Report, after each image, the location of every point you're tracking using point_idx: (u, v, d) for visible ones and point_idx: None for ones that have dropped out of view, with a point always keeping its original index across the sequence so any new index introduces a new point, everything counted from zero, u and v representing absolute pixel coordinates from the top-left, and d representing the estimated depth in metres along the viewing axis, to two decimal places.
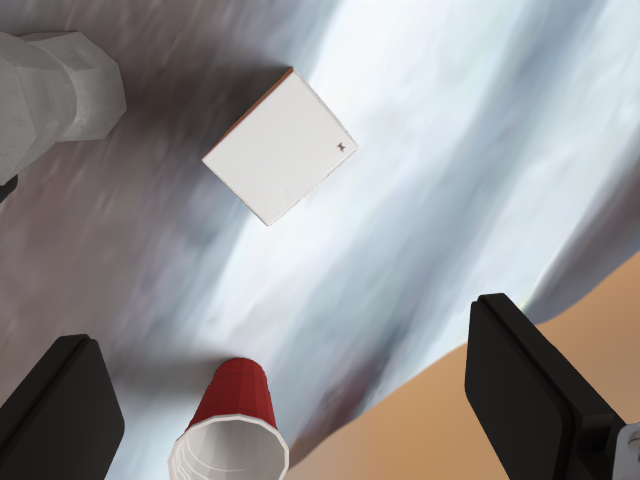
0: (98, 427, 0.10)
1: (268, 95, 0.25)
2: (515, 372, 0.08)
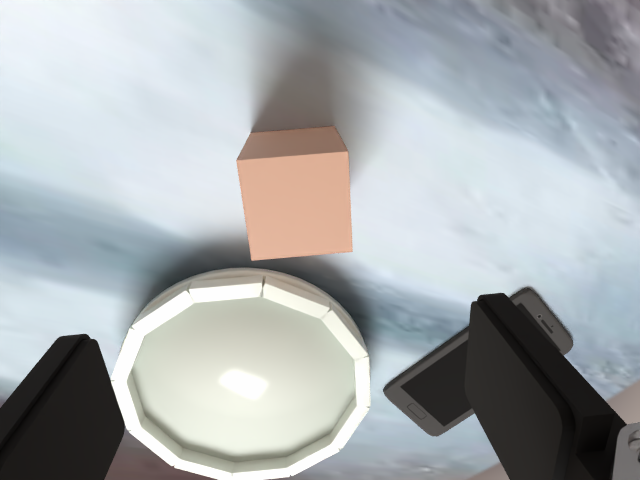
0: (98, 427, 0.10)
1: None
2: (515, 372, 0.08)
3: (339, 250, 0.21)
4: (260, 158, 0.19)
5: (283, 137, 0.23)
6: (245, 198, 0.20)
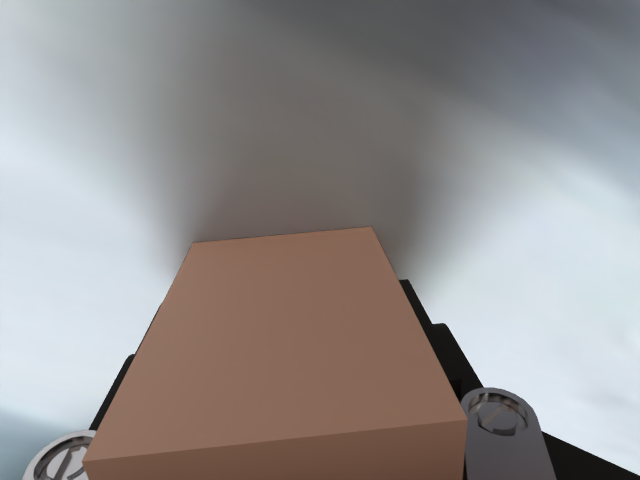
0: None
1: None
2: None
3: None
4: (167, 449, 0.06)
5: (260, 277, 0.10)
6: None
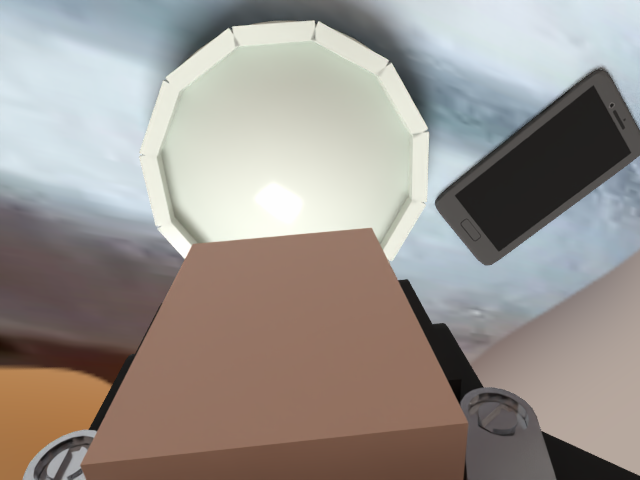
0: None
1: None
2: None
3: None
4: (166, 452, 0.06)
5: (260, 278, 0.10)
6: None
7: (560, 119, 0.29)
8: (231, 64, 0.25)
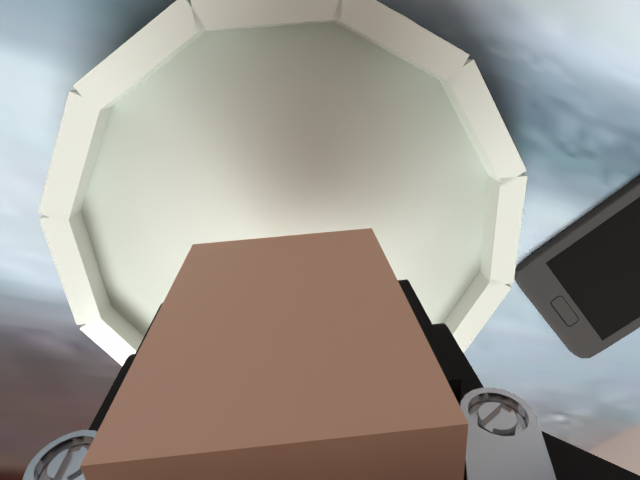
0: None
1: None
2: None
3: None
4: (166, 453, 0.06)
5: (260, 279, 0.10)
6: None
7: None
8: (193, 62, 0.14)
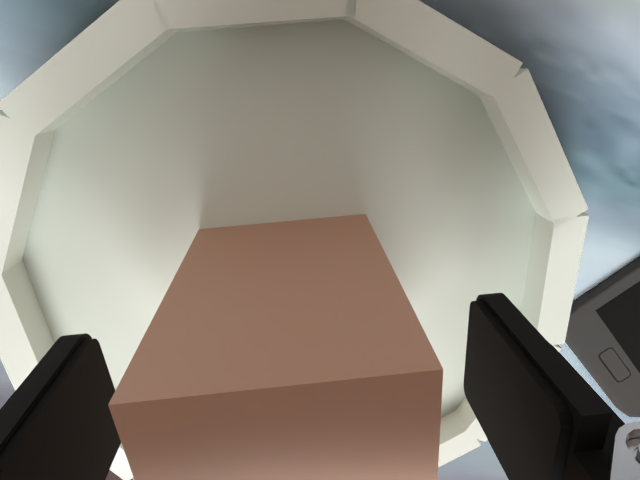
0: (99, 426, 0.10)
1: None
2: (513, 371, 0.08)
3: None
4: (182, 394, 0.06)
5: (261, 257, 0.11)
6: None
7: None
8: (160, 72, 0.11)
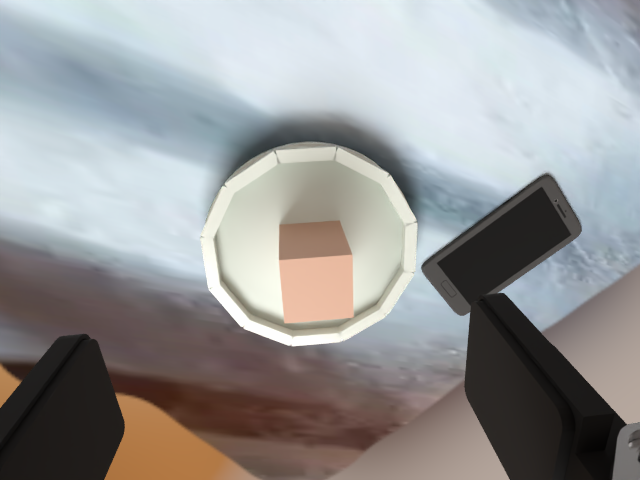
0: (98, 427, 0.10)
1: None
2: (515, 372, 0.08)
3: (344, 316, 0.31)
4: (294, 258, 0.29)
5: (305, 233, 0.33)
6: (283, 283, 0.29)
7: (517, 209, 0.38)
8: (272, 172, 0.33)
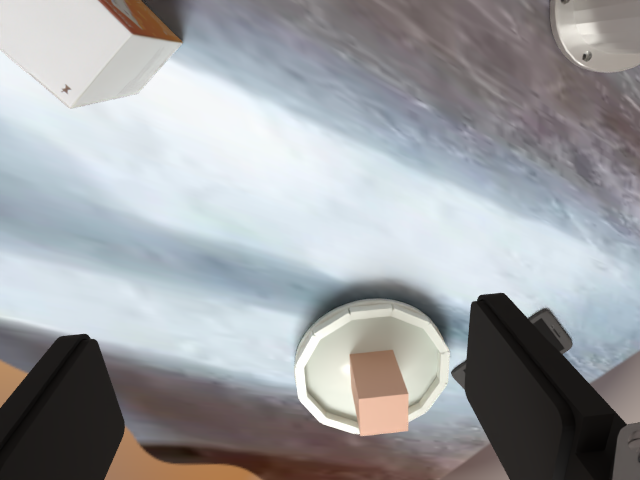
0: (98, 427, 0.10)
1: (103, 5, 0.24)
2: (515, 372, 0.08)
3: (402, 430, 0.44)
4: (369, 397, 0.42)
5: (370, 366, 0.47)
6: (360, 412, 0.43)
7: None
8: None
